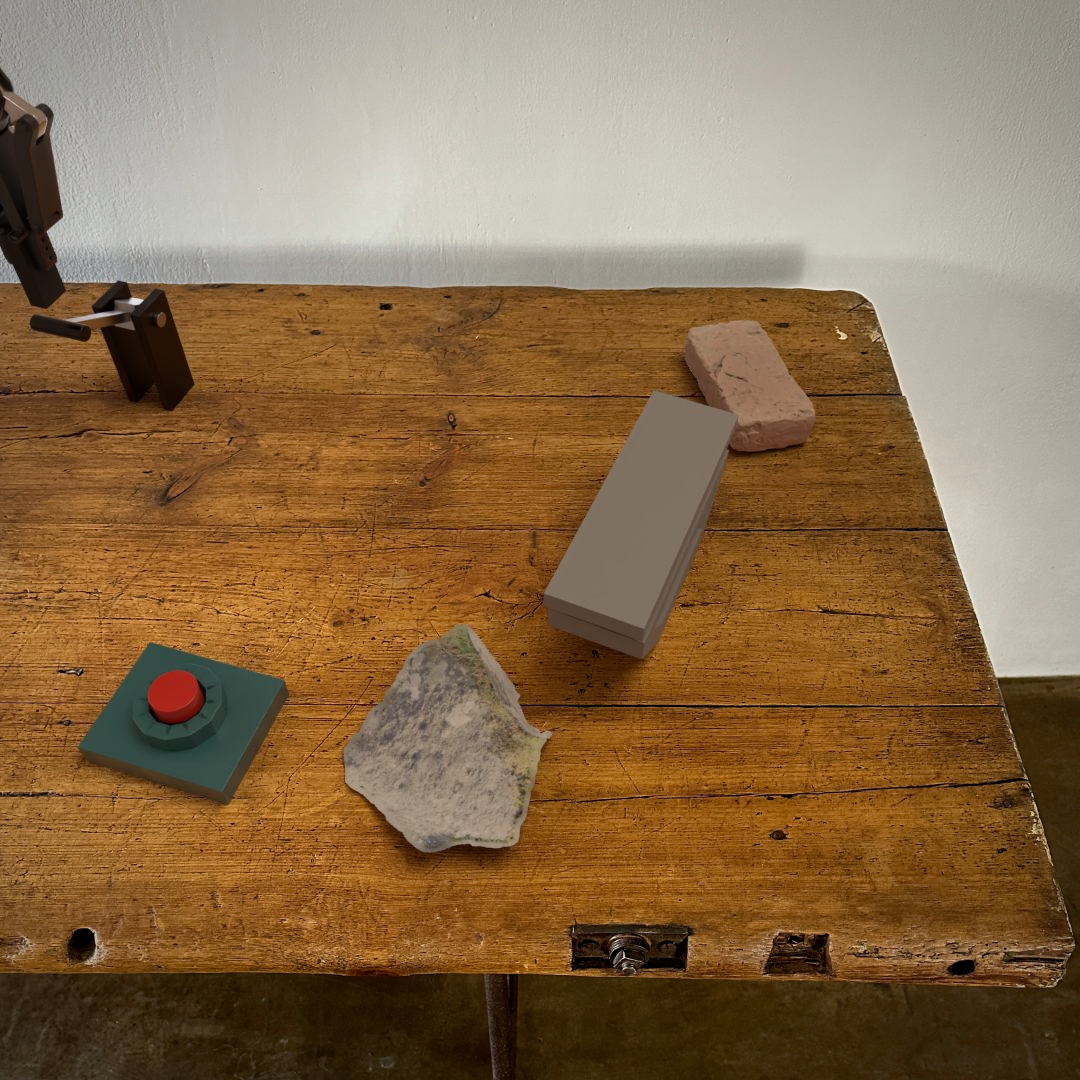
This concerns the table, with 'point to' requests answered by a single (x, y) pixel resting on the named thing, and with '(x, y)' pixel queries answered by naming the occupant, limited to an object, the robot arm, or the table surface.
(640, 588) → the sharpening stone
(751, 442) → the brick
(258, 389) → the table surface
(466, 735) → the rock fragment
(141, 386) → the bracket
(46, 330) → the lever
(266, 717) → the control block
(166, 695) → the button
